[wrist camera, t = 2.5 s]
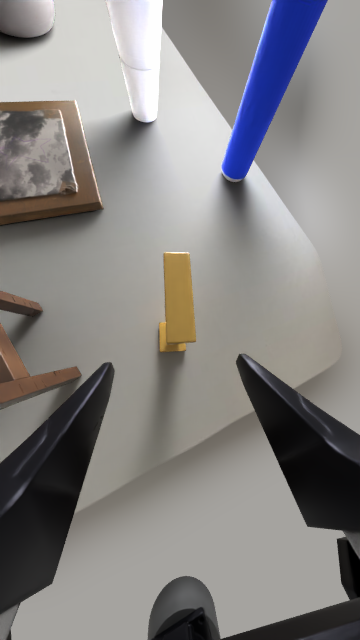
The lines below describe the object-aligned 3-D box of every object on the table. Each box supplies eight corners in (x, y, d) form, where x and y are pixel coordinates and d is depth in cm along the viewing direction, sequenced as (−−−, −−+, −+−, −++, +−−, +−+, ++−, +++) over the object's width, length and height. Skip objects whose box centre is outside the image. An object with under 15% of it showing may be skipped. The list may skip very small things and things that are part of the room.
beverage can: (238, 161, 27) (322, -58, 12) (249, 180, 26) (354, -28, 12) (216, 165, 26) (279, -65, 11) (227, 185, 25) (309, -33, 11)
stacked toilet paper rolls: (121, 92, 28) (39, -355, 10) (171, 102, 28) (178, -290, 11) (114, 127, 25) (-3, -360, 8) (169, 136, 26) (174, -279, 9)
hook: (185, 350, 19) (215, 358, 7) (160, 351, 18) (147, 362, 6) (182, 307, 20) (205, 252, 8) (159, 308, 19) (147, 251, 8)
